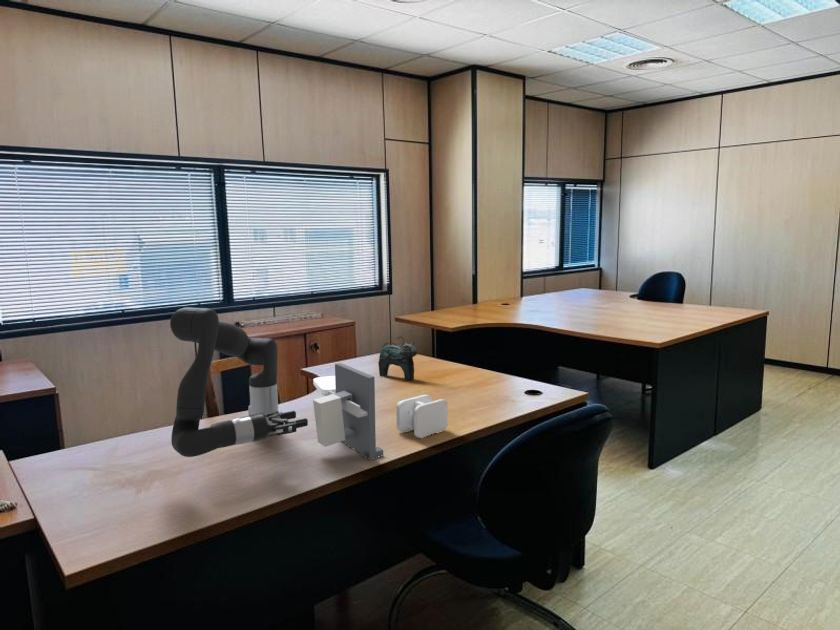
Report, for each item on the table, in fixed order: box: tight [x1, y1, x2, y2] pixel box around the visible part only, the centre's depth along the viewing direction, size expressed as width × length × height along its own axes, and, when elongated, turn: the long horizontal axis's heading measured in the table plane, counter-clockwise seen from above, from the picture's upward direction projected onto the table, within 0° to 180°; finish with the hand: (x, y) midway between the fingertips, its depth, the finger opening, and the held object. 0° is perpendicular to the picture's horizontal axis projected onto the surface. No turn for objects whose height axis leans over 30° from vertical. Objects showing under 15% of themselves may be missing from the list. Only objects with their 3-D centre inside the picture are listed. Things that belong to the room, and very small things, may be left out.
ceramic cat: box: [378, 336, 418, 382], centre depth 268 cm, size 20×6×20 cm, turn 58°
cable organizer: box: [396, 394, 449, 439], centre depth 198 cm, size 15×11×12 cm
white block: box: [312, 391, 356, 448], centre depth 179 cm, size 5×11×14 cm, turn 125°
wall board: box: [327, 362, 384, 460], centre depth 183 cm, size 22×8×26 cm, turn 35°
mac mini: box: [312, 375, 336, 396], centre depth 256 cm, size 22×22×3 cm
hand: (301, 417), depth 172 cm, fingers open, 8 cm apart
